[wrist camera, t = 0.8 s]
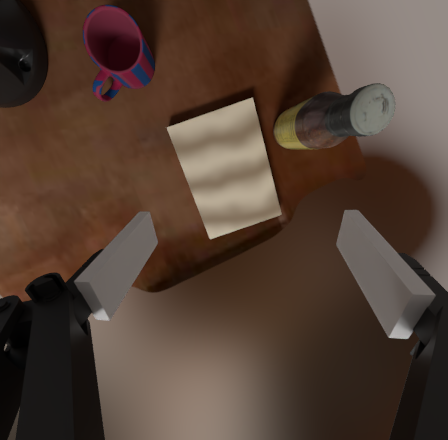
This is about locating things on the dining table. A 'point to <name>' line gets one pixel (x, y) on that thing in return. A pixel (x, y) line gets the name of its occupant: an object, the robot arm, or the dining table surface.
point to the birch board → (227, 167)
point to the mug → (117, 50)
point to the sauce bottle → (335, 118)
